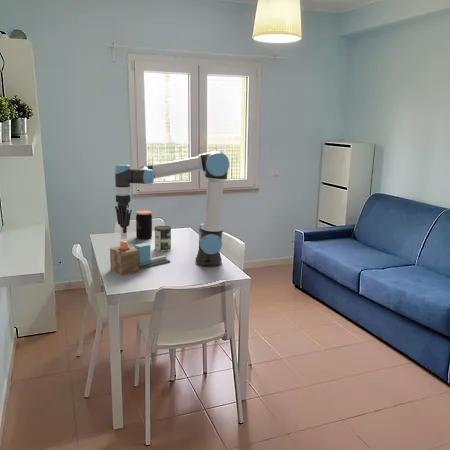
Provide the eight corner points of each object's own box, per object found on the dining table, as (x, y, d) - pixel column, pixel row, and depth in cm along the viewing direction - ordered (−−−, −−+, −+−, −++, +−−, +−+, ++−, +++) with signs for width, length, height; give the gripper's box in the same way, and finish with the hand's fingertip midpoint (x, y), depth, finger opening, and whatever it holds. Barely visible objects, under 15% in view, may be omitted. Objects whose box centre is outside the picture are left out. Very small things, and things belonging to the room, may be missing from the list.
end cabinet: (139, 271, 240) (139, 249, 237) (122, 275, 233) (121, 253, 230) (127, 265, 249) (127, 244, 246) (110, 269, 242) (110, 248, 239)
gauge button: (129, 252, 238) (129, 242, 237) (122, 254, 236) (122, 243, 234) (125, 251, 241) (125, 240, 240) (118, 252, 238) (118, 241, 237)
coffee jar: (135, 235, 310) (135, 210, 305) (150, 235, 313) (150, 210, 309) (137, 240, 300) (136, 213, 296) (153, 239, 303) (153, 213, 299)
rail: (170, 262, 256) (170, 257, 256) (137, 270, 242) (137, 264, 241) (162, 258, 262) (162, 254, 261) (129, 266, 247) (129, 261, 246)
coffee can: (173, 247, 285) (173, 226, 282) (167, 252, 275) (168, 230, 272) (157, 246, 287) (157, 225, 284) (152, 250, 277) (152, 228, 274)
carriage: (150, 263, 249) (150, 244, 246) (139, 266, 244) (139, 247, 241) (145, 261, 252) (145, 242, 250) (134, 263, 248) (134, 244, 245)
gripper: (136, 195, 229) (136, 240, 234) (122, 192, 238) (123, 234, 244) (123, 197, 224) (124, 242, 229) (110, 193, 233) (111, 236, 239)
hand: (123, 238), depth 236 cm, fingers closed
